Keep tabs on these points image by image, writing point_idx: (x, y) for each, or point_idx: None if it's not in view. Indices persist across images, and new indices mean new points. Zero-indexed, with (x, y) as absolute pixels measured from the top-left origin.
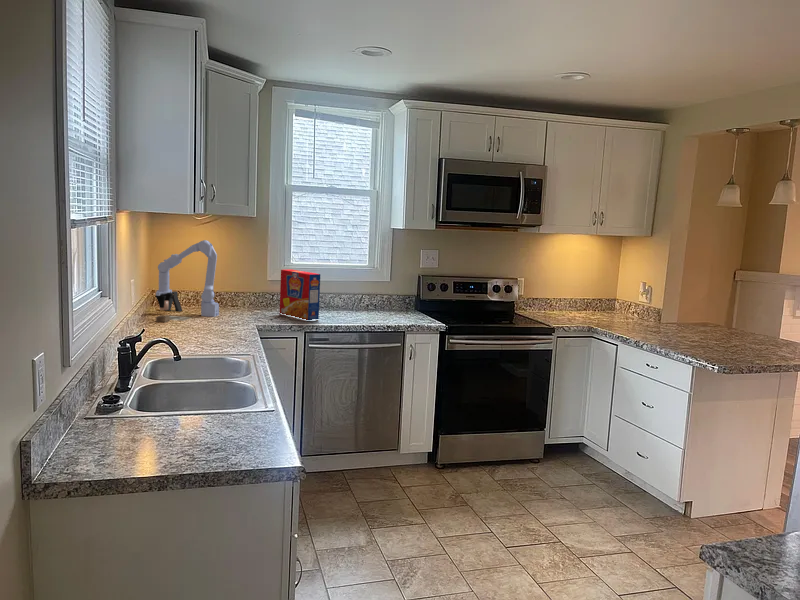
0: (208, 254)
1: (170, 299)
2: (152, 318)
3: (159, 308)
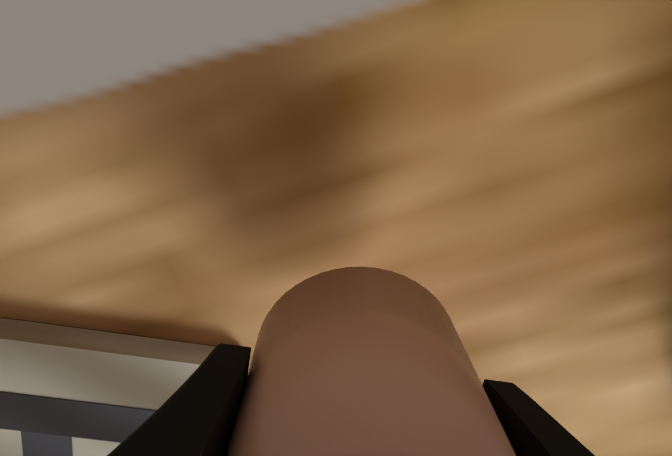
0: None
1: None
2: (14, 193)
3: (319, 285)
